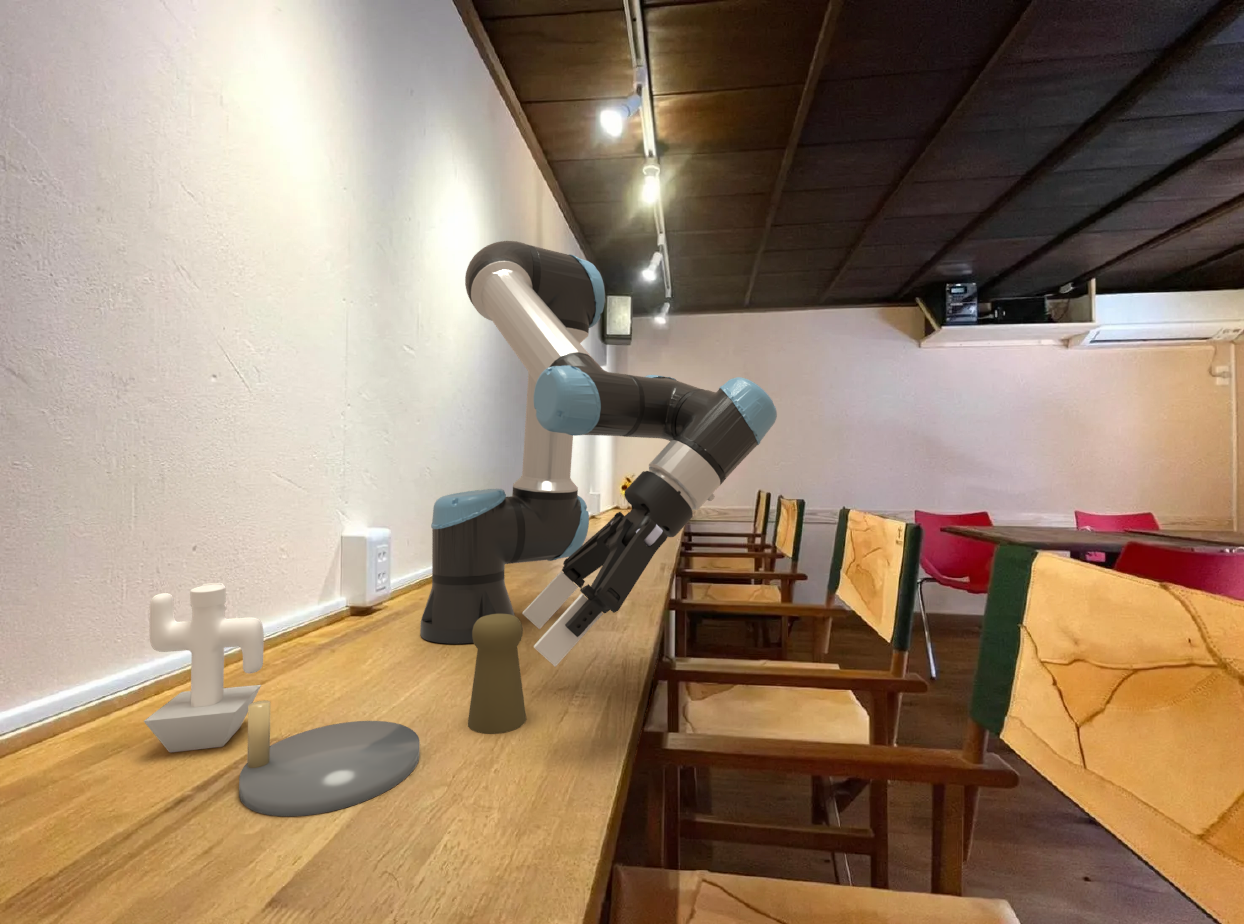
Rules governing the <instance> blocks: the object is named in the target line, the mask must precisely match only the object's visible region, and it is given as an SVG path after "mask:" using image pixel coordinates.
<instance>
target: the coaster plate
mask: <svg viewBox="0 0 1244 924" xmlns="http://www.w3.org/2000/svg"><path fill="white" fill-rule="evenodd" d="M420 743H421V742H420V737H419V734H417V732H415V730H413V729H412V728H410V727H409V726H406V725H404V724H402V723H396V722H391V721H385V720H383V721H382V720H355V721H347V722H339V723H334V724H330V725H325V726H324V725H323V726H320V727H316V728H311V729H309V730H305V731H303V732H298V733H296V734H294V735H291V736H288V737H285V738H284V739H282V740H278V741H277V742H275V743H272V744H271V700H259V701H253V703H251V704H250V705H249V706H248V713H247V762H246V763H245V765H244V766H243V767H242V769H241V771H240V774H239V778H238V780H239V784H238V786H239V787H238V791H239V792H238V795H239V796H238V797H239V799H240V802H241V803H242V804H243V806H245V807H246V808H247V809H249V810H251V811H254V812H256V813H258V814H261V815H262V814H263V815H267V816H274V817H302V816H303V817H304V816H312V815H313V816H314V815H319V814H325V813H329V812H335V811H339V810H341V809H346V808H348V807H352V806H355V805H358V804H362V803H364V802H366V801H368V800H371V799H373V798H376V797H378V796H380V795H382V794H384V793H386V792H387V791H389V790H392V789H393V788H395V787H396V786H398V784H400V783H402V782H403V781H404V780H406V778H407V777H409V776H410V775H411V774H412V772H413V771H414V770H415V769H416V767H417V765H418V763H419V761H420Z"/></svg>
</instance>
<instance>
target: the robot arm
mask: <svg viewBox="0 0 1244 924" xmlns="http://www.w3.org/2000/svg"><path fill="white" fill-rule="evenodd" d="M464 281H465V282H464V283H465V290H466V294H467V296H468V299H469V300H470V303H471V304H472V306H473V307H474V309H475V310H476V311H477V313H478V314H479V315H480V316H481V317H483V318H484V319H486V320H488V321H490V322H493V324H494V325H495V327H496V329H498V331H499V332H500V334H501V335H502V337H503V338H504V339H505V341H506V342H507V344H508V345H509V347H510V348H511V349H512V351H513V352H514V354H515V355H516V356H517V357H518V359H519V361H520V362H521V363H522V365H523V366H524V368H525V369H526V370H527V371H528V375H527V377H528V378H527V389H526V390H527V392H526V405H525V406H526V407H525V421H524V422H525V424H524V440H523V441H524V442H523V453H522V454H523V457H522V472H521V473H522V474H521V476H520V477H519V478H518V479H517V480H516V481H515V482H514V483H513V484H512V494H511V496H507V494H506V493H505V490H504V489H502V488H486V489H481V490H480V489H478V490H468V491H464V492H463V491H462V492H456V493H451V494H450V493H449V494H446V495H442V496H441V497H439V498H438V499H436V501H435V502H434V504H433V508H432V509H433V510H432V520H431V521H432V522H431V529H432V532H431V533H432V539H431V540H432V543H431V544H432V546H431V547H432V548H431V549H432V554H431V556H432V558H431V559H432V563H431V564H432V565H431V566H432V567H431V568H432V569H431V570H432V573H431V574H432V576H431V589H430V592H429V595H428V598H427V602H426V604H425V607H424V610H423V613H422V617H421V620H420V628H419V629H420V633H419V634H420V636H421V639H424V640H425V641H427V642H428V641H429V642H432V643H438V644H451V645H452V644H458V645H459V644H474V642H473V637H472V630H473V626H474V624H475V622H476V621H477V620H478V619H479V618H481V617H483V616H487V615H491V614H510V615H514V616H515V612H514V608H513V605H512V602H511V598H510V595H509V593H508V590H507V586H506V583H505V580H506V579H505V567H506V565H508V564H509V565H511V564H520V563H530V562H531V563H532V562H541V561H542V562H543V561H548V562H553V561H556V560H560V559H564V561H563V563H562V565H563V566H562V569H561V571H559V572H558V574H557V575H555V577H554V578H553V579H552V580H551V581H550V582H549V583H548V584H547V585H546V586H545V588H544V589H543V590H542V591H541V592H540V593H539V594H538V595H537V596H536V597H535V598H534V599H533V601H531V603H530V604H529V605H528V606H527V607H526V608H525V609H524V610H523V611H522V615H523V616H524V617H525V618H527V620H528V621H530V622H531V623H532V624H533V625H534V626H535V627H536V628H537V629H538V630H540V629H541V628H543V626H545V624H546V623H547V622H548V621H549V620H550V619H551V617H552V616H554V614H555V613H556V612H557V611H558V610H559V609H560V608H561V607H562V605H564V603H565V602H566V601H567V600H568V599H569V598H570V597H571V596H572V595H573V594H574V593H575V591H577V589H578V588H579V589H580V590H579V592H580V594H579V596H578V597H577V598H576V599H575V600H574V601H573V602H571V604H570V606H568V607H567V609H566V610H565V611H564V612H563V613H562V614H561V615H560V616H559V618H557V619H556V621H555V622H554V623H553V624H552V625H551V626H550V627H549V628H548V629H547V631H546V632H545V633H544V634H543V635H542V636H541V637H540V638H539V640H537V642H536V643H535V644H534V645H533V648H534V649H535V650H536V651H537V652H538V653H539V654H541V656H542V657H544V658H545V659H546V660H547V661H548V662H549V663H550V664H552V666H554V668H556V667H557V666H558V664H560V663H561V661H562V660H563V659H564V658H565V656H567V655H568V653H569V652H570V651H571V650H572V649H573V648H574V647H575V645H577V644H578V642H579V641H580V640H582V638H583V636H585V635H586V634H587V632H588V631H589V630H590V629H591V628H592V627H593V626H594V624H595V623H596V622H597V621H598V620H599V619H600V618H601V617H602V616H603V614H607V613H609V612H612V613H617V612H618V611H619V610H620V609H621V607H622V606H623V604H624V603H625V601H626V600H627V598H628V597H629V595H630V593H631V591H632V590H633V588H634V587H635V585H636V584H637V582H638V580H639V579H640V577H642V574H643V573H644V571H645V569H646V568H647V566H648V565H649V563H650V562H651V560H652V559H653V557H654V555H655V554H656V553H657V551H658V550H659V549H660V547H661V546H662V545H663V544H664V543H665V542H666V541H667V539H668V538H674V537H676V536H677V535H678V534H679V533H680V532H681V530H682V529H683V528H684V527H685V526H686V525H687V524H688V523H689V521H691V520H692V519H693V514H694V510H695V511H696V510H697V511H698V510H700V509H701V507H702V506H703V505H704V504H705V503H706V502H707V501H708V502H711V501H713V500H714V499H715V494H714V492H715V491H717V489H718V488H719V487H720V486H721V485H723V483H724V481H726V479H727V478H728V477H729V476H730V475H731V474H732V473H733V472H734V471H735V469H736V468H737V467H738V466H739V465H740V464H741V463H742V462H743V460H745V459H746V458H747V456H748V455H749V454H750V453H751V452H752V451H754V449H755V448H757V446H759V445H760V444H761V442H762V440H763V439H764V437H765V436H766V435H767V433H768V432H769V431H770V430H771V429H772V428H773V425H774V424H775V423H776V421H777V417H778V412H777V407H776V406H775V404H774V402H773V399H772V397H770V395H769V394H768V393H767V392H766V391H765V390H764V389H763V388H762V387H761V386H760V385H758V384H757V383H755V382H753V381H752V380H750V379H748V378H746V377H745V378H744V377H741V376H736V377H735V378H734V377H733V378H730V379H728V381H726V382H725V383H724V384H723V385H721V386H719V388H718V390H717V391H716V392H715V391H711V390H709V389H703V388H700V387H697V386H695V385H694V386H693V385H690V384H687V383H684V382H682V381H679V380H677V379H676V378H673V377H671V376H663V375H658V374H647V375H646V376H639V375H634V374H633V375H631V374H625V373H619V372H610V371H607V370H604V369H603V368H602V367H601V365H600V364H599V363H598V362H597V361H596V360H595V359H594V358H593V356H591V355H590V353H589V352H588V351H587V349H585V347H584V346H583V345H582V344H581V343H582V342H583V341H584V340H586V339H587V338H588V337H589V332H590V331H589V330H590V329H591V328H593V327H594V326H596V325H597V323H598V322H599V321H600V319H601V314H602V313H603V312H604V307H605V302H606V301H605V300H606V298H605V297H606V291H605V283H604V281H603V277H602V275H601V272H600V271H599V270H598V269H597V267H596V266H595V265H594V263H592V262H590V261H589V260H585V259H583V258H580V257H578V256H576V255H573V254H567V253H563V252H559V251H554V250H551V249H547V248H543V247H538V246H535V245H531V244H527V243H524V242H520V241H513V240H504V241H503V240H502V241H495V242H493V243H491V244H490V243H489V244H488V245H486V246H485V247H483V248H481V249H480V250H479V251H477V252H476V253H475V254H474V255H473V257H472V258H471V259H470V261H469V263H468V266H467V269H466V271H465V279H464ZM575 436H602V437H603V436H607V437H608V436H609V437H612V436H613V437H624V438H646V439H647V438H648V439H661V440H667V441H668V443H667V444H666V445H665V446H664V448H662V450H661V451H660V452H659V453H658V454H657V455H656V456H655V457H654V458H653V459H652V460H651V462H650V463H649V464H648V470H646V471H645V470H644V471H642V472H640V474H639V475H638V476H637V477H636V478H635V479H634V480H633V481H632V482H631V483H630V485H628V487H627V488H626V489H625V491H624V497H625V499H626V502H627V503H628V504H629V505H630V506H631V510H630V511H629V512H628V513H626V514H623V513H622V512H621V511H618V512H616V513H615V514H614V515H613V517H612V518H611V519H610V520H609V521H608V522H607V523H606V524H605V525H604V526H602V528H600V529H599V530H597V532H596V533H594V535H592V536H591V537H590V538H589V539H588V540H587V536H588V531H589V525H590V515H589V511H588V510H587V509H588V506H587V504H586V501H585V500H584V498H582V497H581V496H579V495H578V492H579V491H578V490H579V487H578V486H577V485H576V483H574V481H573V480H572V479H571V470H572V457H573V456H572V455H573V444H574V443H573V440H574V437H575ZM586 540H587V541H586ZM585 541H586V542H585ZM565 558H566V559H565ZM599 569H600V570H599ZM597 570H599V571H598V573H597V575H596V577H595V579H594V580H593V582H592V583H591V585H590V584H589V583H588V584H587V585H586V584H585V583H586V580H585V579H586V578H587V577H588V576H590V575H591V574H593V573H594V572H595V571H597ZM584 585H585V586H584Z"/></svg>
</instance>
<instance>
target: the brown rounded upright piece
mask: <svg viewBox="0 0 1244 924" xmlns="http://www.w3.org/2000/svg"><path fill="white" fill-rule="evenodd" d="M472 637H473V642H474V643H473V645H474V646H475V648H476V649H477V653H476V658H475V659H476V660H475V667H474V674H473V681H472V682H473V683H472V689H471V697H470V703H469V712H468V718H467V727H468V728H469V730H470V731H473V732H475V733H477V734H478V733H479V734H484V735H486V734H487V735H495V734H505V733H508V732H512V731H515V730H517V729H519V728H521V727H522V726H524V724H525V723H526V722H527V713H526V705H525V697H524V691H523V682H522V676H521V667H520V659H519V652H518V651H519V650H518V646H519V645H520V643H521V641H522V637H523V625H522V621H521V620H520V619H519V617H517V616H514V615H510V614H491V615H487V616H483V617H481V618H479V619H478V620H477V621H476V622H475V624H474V626H473V630H472Z"/></svg>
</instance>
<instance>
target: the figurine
mask: <svg viewBox="0 0 1244 924" xmlns="http://www.w3.org/2000/svg"><path fill="white" fill-rule="evenodd" d="M226 592H227V587H226V586H225V584H224V583H223V582H211V583H202V584H201V586H196V587H193V588H191V589H190V590H189V595H190V599H189V601H190V607H191V609H192V610H191V611H192V613H191V614H192V615H191V616H192V618H191V620H183V621H177V620H176V617H175V613H174V612H175V607H174V605H175V603H174V600H175V599H174V596H173V595H172V594H171V593H167V592H163V593H162V592H161V593H158V594H156V595H154V596H152V598H151V599H150V602H149V642H150V645H151V648H152V649H153V650H155V651H156V652H161V653H167V652H180V651H181V652H182V651H189V652H190V653H191V660H190V661H191V662H190V663H191V665H190V666H191V671H190V675H191V676H190V690H188V691H181V692H179V693H178V694H177V695H175V696H174V697H173V698H171V700H169V701H168V702H166V703H165V704H163V706H161V707H160V708H158V709H157V710H155V712H153V713H152V714H151V715H150V716H148V717H147V718H146V719H145V720H143V723H144V724H145V725H146V726H147V727H148V729H150V731H151V732H152V734H153V735H154V736H155V737H156V738H157V740H159V742H160V744H162V745H163V747H164V748H165V749H166V750H167V751H168V752H169V753H177V752H186V751H193V750H194V751H195V750H196V751H197V750H203V749H212V748H223V747H224V746H225V745H226V744H227V743H228V742H229V741H230V739H231V738H232V737H233V736H234V735H235V734H236V732H238V731H239V729H240V728H241V726H242V724H243V723H244V721H245V718H246V716H248V706H249V705H250V704H251V703H254V702H255V699H256V697H257V696H258V695H257V694H258V693H259V691H260V689H261V688H262V684H257V685H255V684H254V685H243V686H233V687H224V675H225V673H224V672H225V669H224V667H225V665H224V664H225V648H237V647H238V648H240V649H241V653H242V670H243V672H244V673H245V674H255V673H257V672H259V671H260V670H261V669H262V667H263V664H264V636H265V635H264V627H263V623H262V621H261V620H260V619H259V618H258V617H253V616H251V617H237V618H235V617H233V618H227V617H226V614H225V613H226V610H227V609H228V606H227V604H226V602H227V593H226Z"/></svg>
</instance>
